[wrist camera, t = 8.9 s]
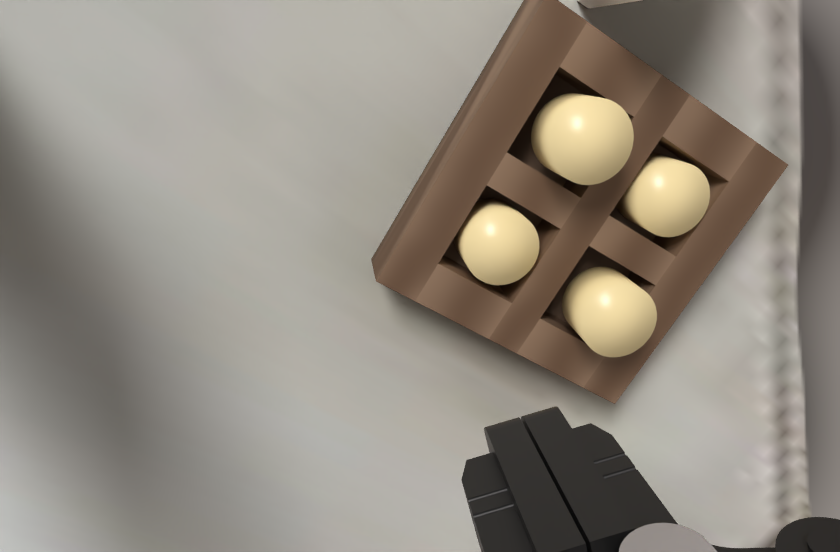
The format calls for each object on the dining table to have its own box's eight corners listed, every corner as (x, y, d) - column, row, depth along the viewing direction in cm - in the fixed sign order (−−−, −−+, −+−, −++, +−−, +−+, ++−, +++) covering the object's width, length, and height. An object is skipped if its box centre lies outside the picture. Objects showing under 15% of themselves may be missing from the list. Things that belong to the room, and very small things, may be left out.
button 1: (440, 246, 38) (449, 263, 35) (477, 185, 38) (490, 197, 35) (498, 278, 40) (512, 297, 37) (536, 219, 39) (554, 234, 36)
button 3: (516, 148, 35) (533, 158, 32) (560, 77, 34) (582, 80, 31) (578, 187, 36) (601, 200, 33) (622, 119, 35) (650, 126, 32)
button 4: (599, 201, 39) (622, 214, 36) (641, 140, 38) (668, 147, 35) (653, 234, 40) (679, 250, 37) (694, 175, 39) (724, 186, 36)
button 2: (548, 314, 38) (567, 337, 35) (589, 253, 37) (612, 271, 34) (603, 344, 39) (626, 369, 36) (644, 286, 38) (672, 306, 35)
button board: (371, 259, 39) (376, 281, 36) (524, -1, 36) (547, -7, 32) (590, 373, 44) (614, 403, 40) (745, 154, 40) (788, 164, 37)
